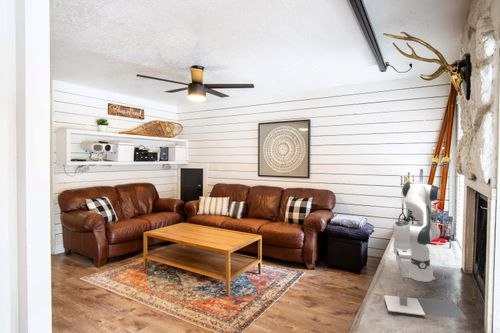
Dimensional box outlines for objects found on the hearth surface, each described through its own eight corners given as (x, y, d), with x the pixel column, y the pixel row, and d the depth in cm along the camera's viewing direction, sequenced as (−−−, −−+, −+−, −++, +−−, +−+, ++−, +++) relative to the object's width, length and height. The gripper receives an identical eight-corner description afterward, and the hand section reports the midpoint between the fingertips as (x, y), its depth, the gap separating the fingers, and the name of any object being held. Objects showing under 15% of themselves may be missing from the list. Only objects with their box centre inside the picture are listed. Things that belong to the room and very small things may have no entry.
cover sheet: (384, 296, 177) (383, 288, 177) (417, 299, 172) (416, 292, 171) (388, 310, 160) (388, 302, 160) (425, 315, 154) (425, 307, 154)
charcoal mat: (415, 298, 178) (415, 297, 178) (453, 302, 172) (453, 301, 172) (424, 314, 159) (424, 314, 159) (467, 319, 153) (467, 319, 153)
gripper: (392, 244, 176) (393, 266, 176) (399, 255, 157) (399, 280, 157) (404, 244, 174) (404, 267, 175) (412, 256, 155) (412, 281, 155)
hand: (402, 273), depth 166 cm, fingers open, 8 cm apart
